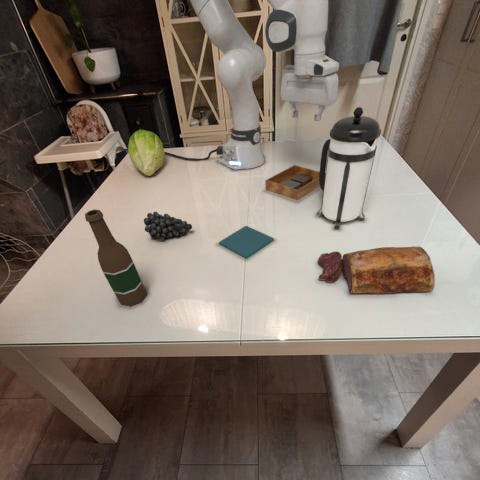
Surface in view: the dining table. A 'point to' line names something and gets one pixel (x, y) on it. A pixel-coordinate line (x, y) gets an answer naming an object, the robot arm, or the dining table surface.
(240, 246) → the mat
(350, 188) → the coffee press
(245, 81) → the robot arm
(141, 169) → the lettuce
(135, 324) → the dining table surface
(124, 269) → the beer bottle
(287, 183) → the slate coaster
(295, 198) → the wooden tray
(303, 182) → the walnut coaster
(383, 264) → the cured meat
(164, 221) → the fruit
